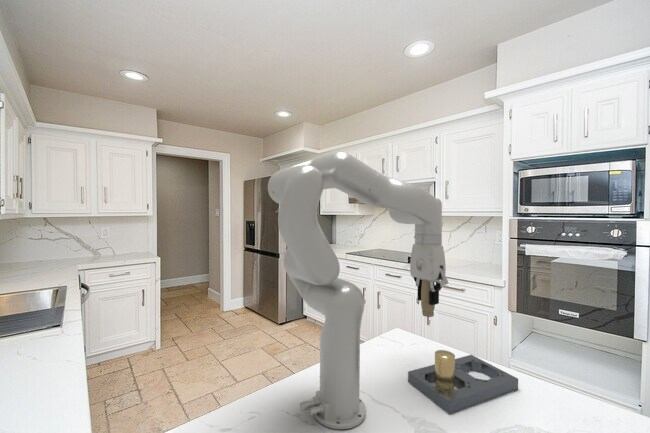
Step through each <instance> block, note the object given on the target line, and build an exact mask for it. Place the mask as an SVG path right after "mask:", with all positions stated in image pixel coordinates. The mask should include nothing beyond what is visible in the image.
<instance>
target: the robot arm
mask: <svg viewBox="0 0 650 433" xmlns="http://www.w3.org/2000/svg"><path fill="white" fill-rule="evenodd" d="M267 183H268V184H267V192H268V196H269V197H270V198H271V200H273V201H274V202H275V203H276V204H279V208H278V214H277V215H278V216H277V221H278V222H277V225H278V230H279V232H280V235H281V237H282V239H283V241H284V244H285V245H286V247H287V248H286V249H285V252H284V255H283V267H284V270H285V271H286V274H287V276H288V278H289V279H290V281H291V282H292V284H293V286H294V287H295V288H296V290H297V292H298V293H299V295H300V297H301V298H302V299H303V301H304V302H305V304H307V305H308V307H309V308H311V309H312V310H315V311H316V312H317V313H319V314H321V315H322V316H324V323H323V326H322V329H321V331H320V334H319V336H320V337H319V390H317V391H315V396H313V397H312V399H308V400H304V401H300V402H299V403H300V404H299V406H300V410H301V412H305V411H309V415H310V416H314V418H315V419H316V420H317V422H319V423H320V424H321V425H323V426H324V427H327V428H330V429H333V430H349V429H353V428H355V427H357V426H359V425H361V423H363V421H364V420H365V418H366V415H367V413H366V412H367V408H366V404H365V402H364V401H363V400H362V399H361V398H360V386H361V385H360V383H361V382H360V379H361V377H360V375H361V374H360V373H361V371H360V370H361V366H360V364H361V361H360V360H361V359H360V358H361V356H360V355H361V345H360V344H361V329H362V328H361V327H362V320H363V315H364V311H365V297H364V294H363V292H362V291H361V289H360V288H359V287H358V286H357V285H356V284H354V283H352V282H350V281H348V280H345V279H342V278H339V275H340V272H341V271H340V269H341V267H340V266H341V265H340V261H339V259H338V256H337V254H336V253H335V251H334V249H333V247H332V246H331V244H330V243H329V241H328V238H327V237H326V235H325V233H324V231H323V229H322V228H321V225H320V223H319V220H318V207H319V202H320V200H321V197H322V194H323V192H324V190H326V189H327V190H328V189H336V190H339V191H341V192H342V193H345V194H347V195H349V196H351V197H352V198H354V199H356V200H358V201H360V202H361V203H362V204H365V205H367V206H371V207H375V208H380V209H387V210H388V213H389V216H390V218H391V220H392V221H394V222H396V223H397V224H403V225H404V224H405V225H414V236H413V239H414V243H413V244H412V247H411V253H410V263H409V267H410V268H409V272H410V273H409V274H410V276H411V277H412V278H413V280H414V282H415V286H416V287H417V301H420V302H421V287H422V279H423V280H427V281H430V287H431V291H429V304H430V305H435V306H436V305H438V304H439V303H440V291H441V290H442V288H443V287H445V286H447V285H448V284H449V280H448V278H447V276H446V275H447V274H446V268H447V267H446V258H445V257H446V256H445V255H446V254H445V250H444V246H443V245H442V244H443V241H442V238H443V234H442V233H443V232H442V231H443V229H442V228H443V224H442V223H443V204H442V203H443V202H442V200H441V199H440V198H437V197H435V196H434V195H433V194H431V193H429V192H428V191H426V190H425V189H423V188H421V187H419V186H418V185H414V184H412V183H409V182H406V181H403V180H399V179H397V178H393V177H389V176H387V175H384V174H382V173H381V172H379V171H377V170H375V169H374V168H373V167H371V166H370V165H367V164H366V163H365V162H363V161H361V160H360V159H358V158H356V157H355V156H353V155H351V154H350V153H348V152H344V151H335V152H331V153H328V154H324V155H321V156H318V157H314V158H312V159H310V160H307V161H304V162H301V163H299V164H295V165H292V166H289V167H286V168H283V169H280V170H277V171H276V172H274V173H273V174H272V175H271V177H269V180H268V182H267ZM417 265H418V266H422V270H420V271H419V270H417Z"/></svg>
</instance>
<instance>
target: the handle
mask: <svg viewBox="0 0 650 433" xmlns="http://www.w3.org/2000/svg"><path fill="white" fill-rule="evenodd" d="M417 270H419V271H420V270H422V266H418V265H417ZM429 291H431V287H430V281H427V280H423V279H422V287H421V301H420V305H421V313H422V316H423V317H427V318H433V317H434V316H435V315H434V314H435V312H434V311H435V306H436V304H435V305H430V304H429Z"/></svg>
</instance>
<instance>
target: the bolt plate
mask: <svg viewBox="0 0 650 433" xmlns="http://www.w3.org/2000/svg"><path fill="white" fill-rule="evenodd" d="M469 371H470V372H475V373H480V372H481V374H483V375H485V376H487V377H488V379H482V378H477V377H474V376H473V375H471V374H469V373H470V372H469ZM468 372H469V373H468ZM407 382H408V384H410V385H411V386H412V387H413V388H415V389H416V390H417V391H419V392H420V393H422V394H423V395H424V396H425V397H427V398H428V399H429V400H431V401H432V402H433V403H434V404H435V405H436V406H438V407H439V408H440V409H442V410H443V411H444V412H446V413H447V415H453V414H455V413H458V412H461V411H463V410H464V411H465V410H467V409H469V408H472V407H475V406H478V405H480V404H483V403H485V402H488V401H491V400H494V399H497V398H499V397H501V396H504V395H508V394H510V393H513V392H516V391H518V390H519V378H518V377H515V376H514V375H512V374H510V373H509V372H506V371H504V370H502V369H501V368H498V367H496V366H495V365H493V364H491V363H489V362H486V361H484V360H482V359H481V358H478V357H477V356H475V355H473V354H469V355H465V356H461V357H458V358H455V388H457V389H455V391H451V392H449V391H444V390H439V389H438V388H436V387H435V384H434V385H433V383H435V363H434V364H431V365H428V366H424V367H419V368H417V369H413V370H412V369H411V370H409V371H407Z"/></svg>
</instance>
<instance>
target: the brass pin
mask: <svg viewBox="0 0 650 433" xmlns="http://www.w3.org/2000/svg"><path fill="white" fill-rule="evenodd" d="M455 359H456V355H455V353H453V352H452V351H448V350H446V349H445V350H444V349H440V350H436V351H435V352H434V364H435V382H434V386H435V387H436V388H438V389H439V390H444V391H449V392H451V391H455V390H456V389H455V388H456V387H455Z"/></svg>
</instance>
